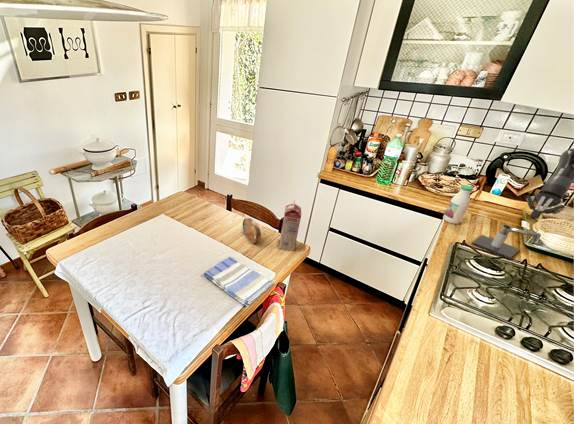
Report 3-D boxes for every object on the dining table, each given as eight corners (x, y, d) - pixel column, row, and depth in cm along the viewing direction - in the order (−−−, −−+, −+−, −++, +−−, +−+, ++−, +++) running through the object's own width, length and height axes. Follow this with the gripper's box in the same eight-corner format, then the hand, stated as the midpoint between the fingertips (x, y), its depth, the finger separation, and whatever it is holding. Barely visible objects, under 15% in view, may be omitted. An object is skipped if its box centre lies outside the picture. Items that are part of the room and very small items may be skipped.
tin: (241, 229, 153) (242, 215, 149) (247, 229, 154) (248, 214, 150) (254, 246, 140) (256, 231, 136) (260, 245, 141) (262, 230, 137)
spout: (499, 234, 138) (504, 226, 136) (496, 231, 141) (501, 223, 138) (538, 242, 133) (544, 234, 131) (535, 239, 135) (541, 230, 133)
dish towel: (247, 309, 107) (248, 304, 105) (201, 276, 122) (201, 271, 121) (276, 286, 117) (277, 281, 116) (230, 258, 132) (231, 253, 131)
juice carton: (279, 248, 140) (286, 205, 129) (279, 240, 145) (286, 199, 135) (294, 250, 138) (302, 207, 127) (294, 242, 144) (302, 201, 133)
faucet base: (518, 251, 140) (527, 236, 136) (509, 259, 134) (519, 244, 130) (481, 236, 150) (488, 222, 146) (471, 244, 144) (479, 230, 141)
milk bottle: (457, 218, 166) (474, 185, 156) (461, 225, 160) (479, 190, 150) (441, 215, 169) (456, 182, 159) (444, 222, 162) (460, 188, 153)
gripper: (537, 178, 141) (515, 208, 141) (579, 188, 131) (555, 220, 131) (534, 186, 146) (513, 215, 146) (574, 196, 136) (551, 227, 136)
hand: (533, 218), depth 139 cm, fingers closed
